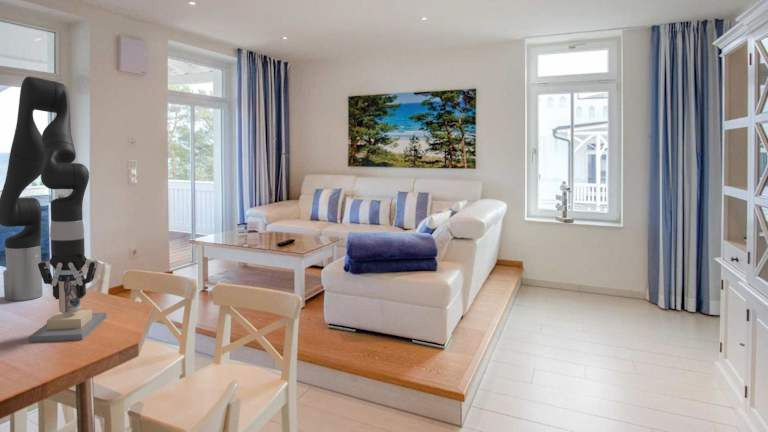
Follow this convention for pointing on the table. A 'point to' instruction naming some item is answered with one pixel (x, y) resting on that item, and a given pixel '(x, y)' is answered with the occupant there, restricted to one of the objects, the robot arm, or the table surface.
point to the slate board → (66, 332)
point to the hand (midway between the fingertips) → (69, 297)
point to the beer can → (68, 293)
